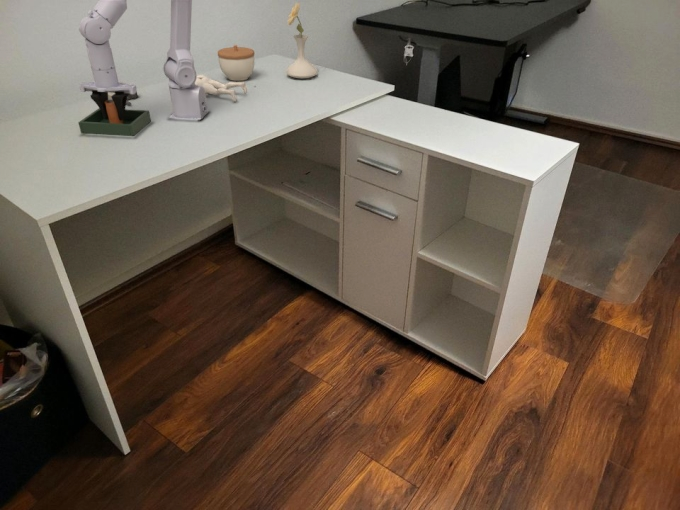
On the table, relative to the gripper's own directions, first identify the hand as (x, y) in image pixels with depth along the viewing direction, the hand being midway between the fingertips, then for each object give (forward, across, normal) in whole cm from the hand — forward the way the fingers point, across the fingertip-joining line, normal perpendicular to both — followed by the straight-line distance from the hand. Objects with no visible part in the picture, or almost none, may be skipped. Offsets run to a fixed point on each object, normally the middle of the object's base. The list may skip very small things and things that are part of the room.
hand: (115, 118), depth 142 cm
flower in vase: (+3, +42, +58) cm, 72 cm away
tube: (+2, 0, 0) cm, 2 cm away
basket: (+3, 0, 0) cm, 3 cm away
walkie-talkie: (+3, -10, +25) cm, 27 cm away
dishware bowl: (+3, +20, +53) cm, 57 cm away
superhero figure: (+3, +15, +34) cm, 37 cm away
